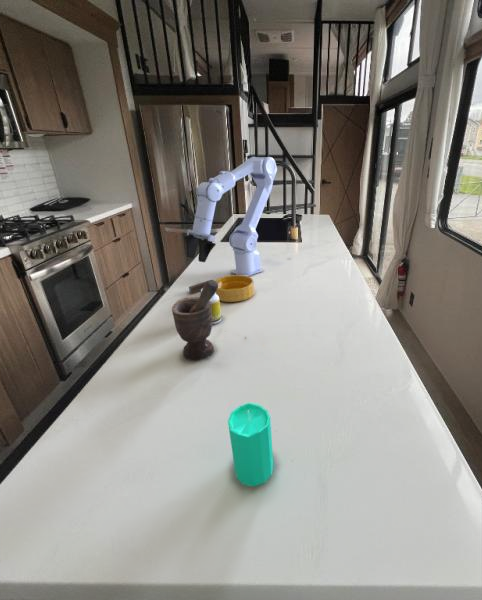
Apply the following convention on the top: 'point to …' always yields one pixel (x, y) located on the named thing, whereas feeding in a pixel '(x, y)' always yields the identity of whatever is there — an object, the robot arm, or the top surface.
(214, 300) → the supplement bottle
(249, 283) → the bowl
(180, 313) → the mortar and pestle
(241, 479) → the candle
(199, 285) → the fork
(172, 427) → the top surface
